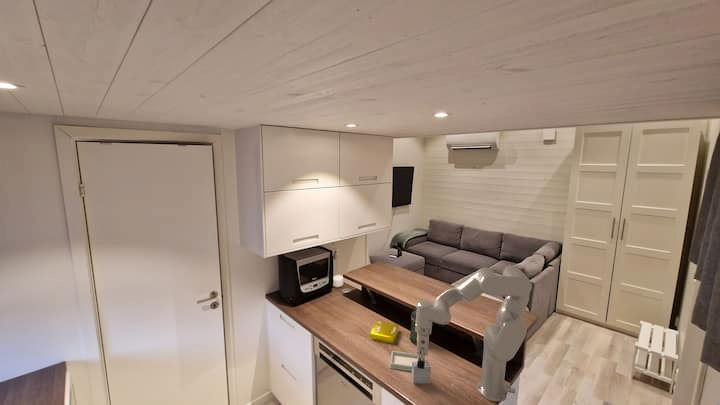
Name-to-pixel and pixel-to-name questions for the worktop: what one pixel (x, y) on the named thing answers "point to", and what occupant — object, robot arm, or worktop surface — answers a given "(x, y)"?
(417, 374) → the medicine box
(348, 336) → the worktop surface
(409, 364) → the white rectangular tray
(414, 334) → the coffee jar
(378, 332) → the element tile
